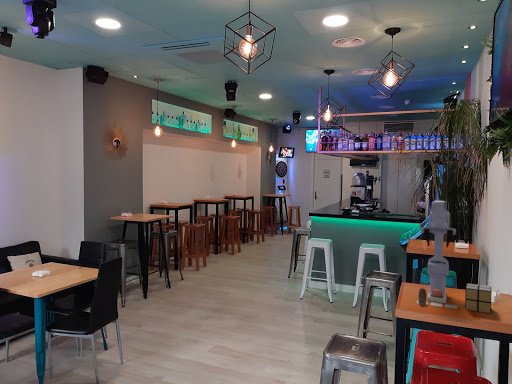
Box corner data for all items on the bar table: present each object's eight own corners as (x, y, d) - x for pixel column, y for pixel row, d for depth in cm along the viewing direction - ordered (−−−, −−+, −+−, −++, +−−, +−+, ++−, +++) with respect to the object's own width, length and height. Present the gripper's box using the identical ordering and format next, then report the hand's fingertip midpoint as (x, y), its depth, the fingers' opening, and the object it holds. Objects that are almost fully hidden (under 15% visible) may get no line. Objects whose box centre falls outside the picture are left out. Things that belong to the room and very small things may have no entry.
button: (431, 294, 190) (431, 288, 190) (442, 295, 188) (442, 289, 188) (431, 296, 186) (431, 290, 186) (442, 298, 184) (442, 291, 184)
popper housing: (428, 297, 192) (428, 292, 192) (446, 299, 189) (446, 294, 189) (427, 302, 185) (427, 296, 185) (446, 304, 182) (446, 299, 182)
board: (415, 301, 186) (415, 299, 186) (458, 306, 178) (458, 305, 178) (415, 304, 181) (415, 303, 181) (458, 310, 173) (458, 309, 173)
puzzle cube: (466, 304, 183) (466, 283, 182) (490, 308, 178) (491, 286, 177) (464, 310, 174) (465, 287, 174) (491, 314, 169) (491, 291, 169)
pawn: (418, 300, 185) (419, 286, 184) (426, 301, 183) (426, 287, 183) (418, 302, 182) (418, 288, 181) (426, 303, 180) (426, 289, 180)
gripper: (421, 215, 184) (420, 239, 176) (456, 217, 178) (456, 241, 170) (422, 224, 189) (420, 247, 181) (455, 226, 182) (455, 250, 174)
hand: (437, 245), depth 175 cm, fingers open, 7 cm apart
